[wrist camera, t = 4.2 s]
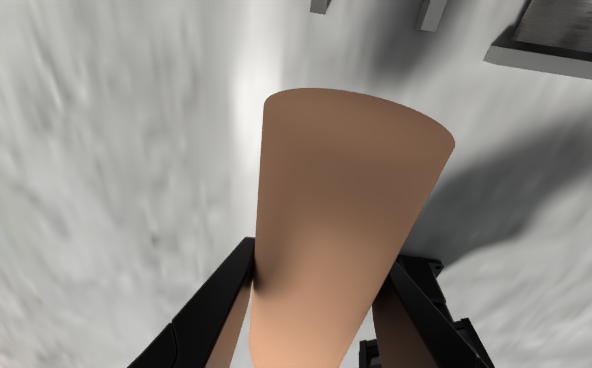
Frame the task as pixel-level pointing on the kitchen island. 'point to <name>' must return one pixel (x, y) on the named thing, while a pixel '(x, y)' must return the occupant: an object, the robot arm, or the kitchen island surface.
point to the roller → (333, 216)
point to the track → (529, 34)
